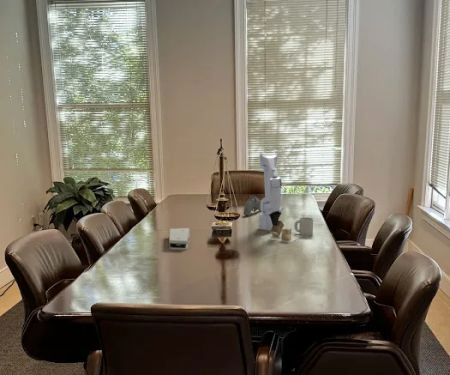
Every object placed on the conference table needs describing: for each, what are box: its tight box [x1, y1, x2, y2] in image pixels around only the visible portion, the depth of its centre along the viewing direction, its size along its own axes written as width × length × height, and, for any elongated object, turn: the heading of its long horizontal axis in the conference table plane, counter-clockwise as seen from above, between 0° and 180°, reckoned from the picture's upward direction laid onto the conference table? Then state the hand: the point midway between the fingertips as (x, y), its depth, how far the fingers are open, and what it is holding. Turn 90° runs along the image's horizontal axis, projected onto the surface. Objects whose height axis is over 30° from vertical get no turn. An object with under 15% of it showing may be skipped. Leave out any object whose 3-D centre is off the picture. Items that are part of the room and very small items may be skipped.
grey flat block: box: [168, 227, 190, 251], centre depth 221 cm, size 26×11×5 cm, turn 3°
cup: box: [293, 216, 314, 237], centre depth 234 cm, size 7×10×9 cm
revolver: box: [243, 195, 261, 217], centre depth 292 cm, size 5×22×15 cm, turn 148°
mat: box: [259, 231, 304, 243], centre depth 229 cm, size 18×16×1 cm
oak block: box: [281, 226, 292, 241], centre depth 222 cm, size 4×4×6 cm
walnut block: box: [269, 220, 285, 237], centre depth 230 cm, size 4×4×8 cm
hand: (274, 225), depth 228 cm, fingers closed
